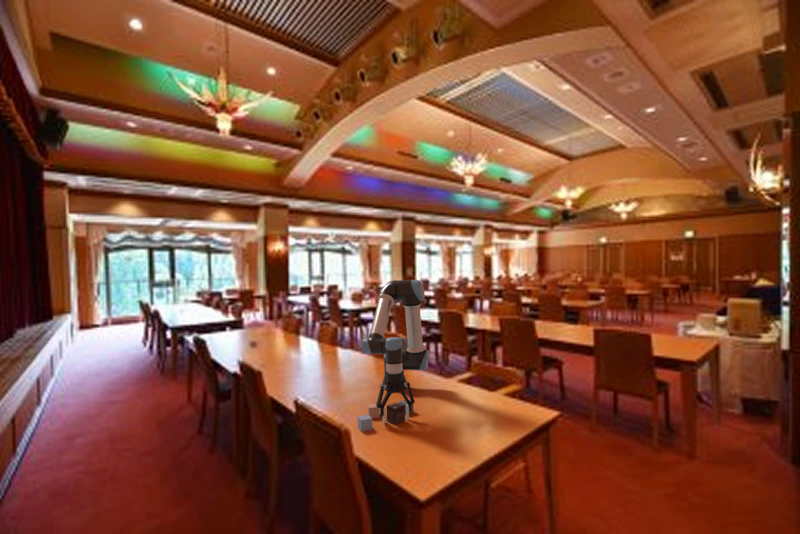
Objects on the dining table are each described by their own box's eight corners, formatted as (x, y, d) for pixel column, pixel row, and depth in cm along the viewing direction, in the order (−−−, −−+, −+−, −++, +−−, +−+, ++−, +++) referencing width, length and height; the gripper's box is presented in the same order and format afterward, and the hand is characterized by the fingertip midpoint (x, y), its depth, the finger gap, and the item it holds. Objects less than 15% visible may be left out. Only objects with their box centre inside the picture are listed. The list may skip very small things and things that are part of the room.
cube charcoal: (399, 411, 185) (399, 401, 185) (408, 409, 187) (408, 399, 188) (404, 414, 181) (404, 404, 181) (413, 412, 183) (413, 402, 183)
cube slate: (357, 427, 167) (357, 416, 167) (368, 425, 169) (368, 414, 169) (361, 432, 163) (360, 420, 163) (372, 429, 164) (371, 418, 165)
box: (396, 417, 177) (395, 402, 178) (405, 421, 173) (404, 404, 173) (386, 421, 173) (386, 405, 173) (395, 425, 169) (395, 408, 169)
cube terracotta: (368, 414, 182) (367, 404, 182) (378, 413, 183) (378, 403, 183) (369, 418, 177) (368, 407, 178) (379, 417, 178) (379, 406, 178)
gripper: (371, 376, 167) (373, 427, 166) (421, 371, 173) (422, 420, 173) (368, 372, 174) (369, 421, 173) (415, 367, 180) (417, 414, 180)
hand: (396, 420), depth 173 cm, fingers open, 10 cm apart
